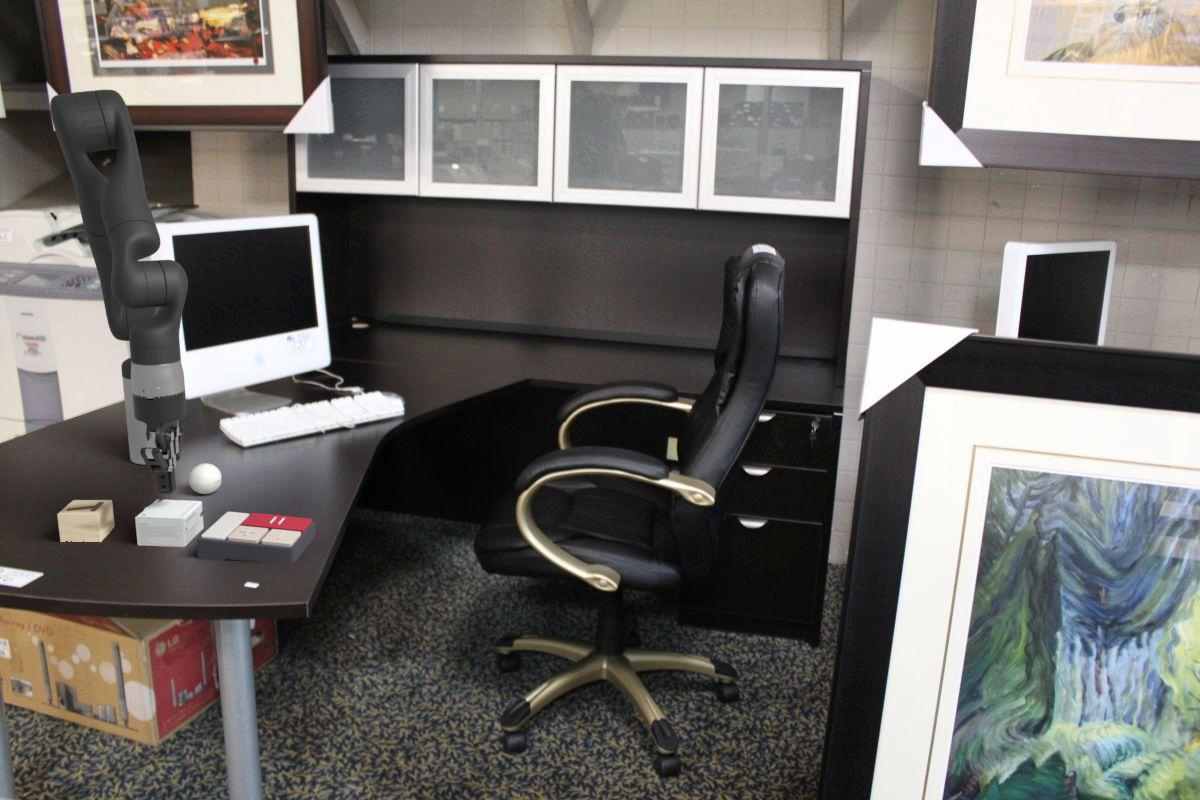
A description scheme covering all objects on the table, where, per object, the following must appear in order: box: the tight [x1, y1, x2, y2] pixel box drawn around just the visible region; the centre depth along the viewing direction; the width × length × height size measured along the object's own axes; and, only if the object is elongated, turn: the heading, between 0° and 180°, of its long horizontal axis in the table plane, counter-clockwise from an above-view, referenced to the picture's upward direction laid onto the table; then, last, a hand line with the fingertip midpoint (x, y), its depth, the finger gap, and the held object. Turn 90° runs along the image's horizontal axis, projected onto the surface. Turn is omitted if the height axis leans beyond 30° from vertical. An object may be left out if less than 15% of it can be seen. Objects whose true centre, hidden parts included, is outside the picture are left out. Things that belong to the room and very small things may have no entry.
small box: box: [134, 498, 205, 548], centre depth 153 cm, size 8×8×5 cm
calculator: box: [196, 511, 317, 565], centre depth 151 cm, size 11×4×15 cm
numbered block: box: [57, 499, 116, 543], centre depth 152 cm, size 6×6×5 cm
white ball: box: [188, 462, 223, 495], centre depth 173 cm, size 8×6×6 cm
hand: (167, 491), depth 152 cm, fingers closed
